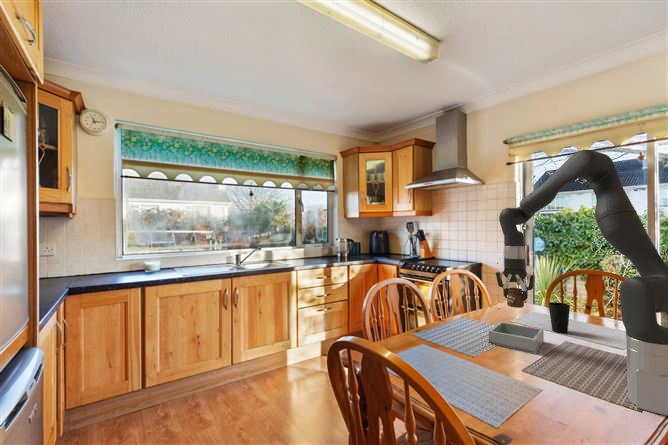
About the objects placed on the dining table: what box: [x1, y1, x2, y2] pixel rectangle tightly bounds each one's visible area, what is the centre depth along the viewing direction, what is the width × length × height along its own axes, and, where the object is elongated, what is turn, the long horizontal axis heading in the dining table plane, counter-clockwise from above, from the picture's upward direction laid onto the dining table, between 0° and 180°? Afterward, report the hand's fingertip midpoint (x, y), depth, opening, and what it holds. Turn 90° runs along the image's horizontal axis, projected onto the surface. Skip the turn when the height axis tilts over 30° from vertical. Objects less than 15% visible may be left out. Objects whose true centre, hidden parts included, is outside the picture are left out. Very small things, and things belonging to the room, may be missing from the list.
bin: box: [488, 321, 545, 355], centre depth 125 cm, size 16×16×5 cm
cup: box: [548, 301, 571, 335], centre depth 137 cm, size 8×8×12 cm
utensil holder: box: [506, 278, 525, 309], centre depth 125 cm, size 6×6×12 cm
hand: (515, 298), depth 125 cm, fingers closed on utensil holder, 5 cm apart
